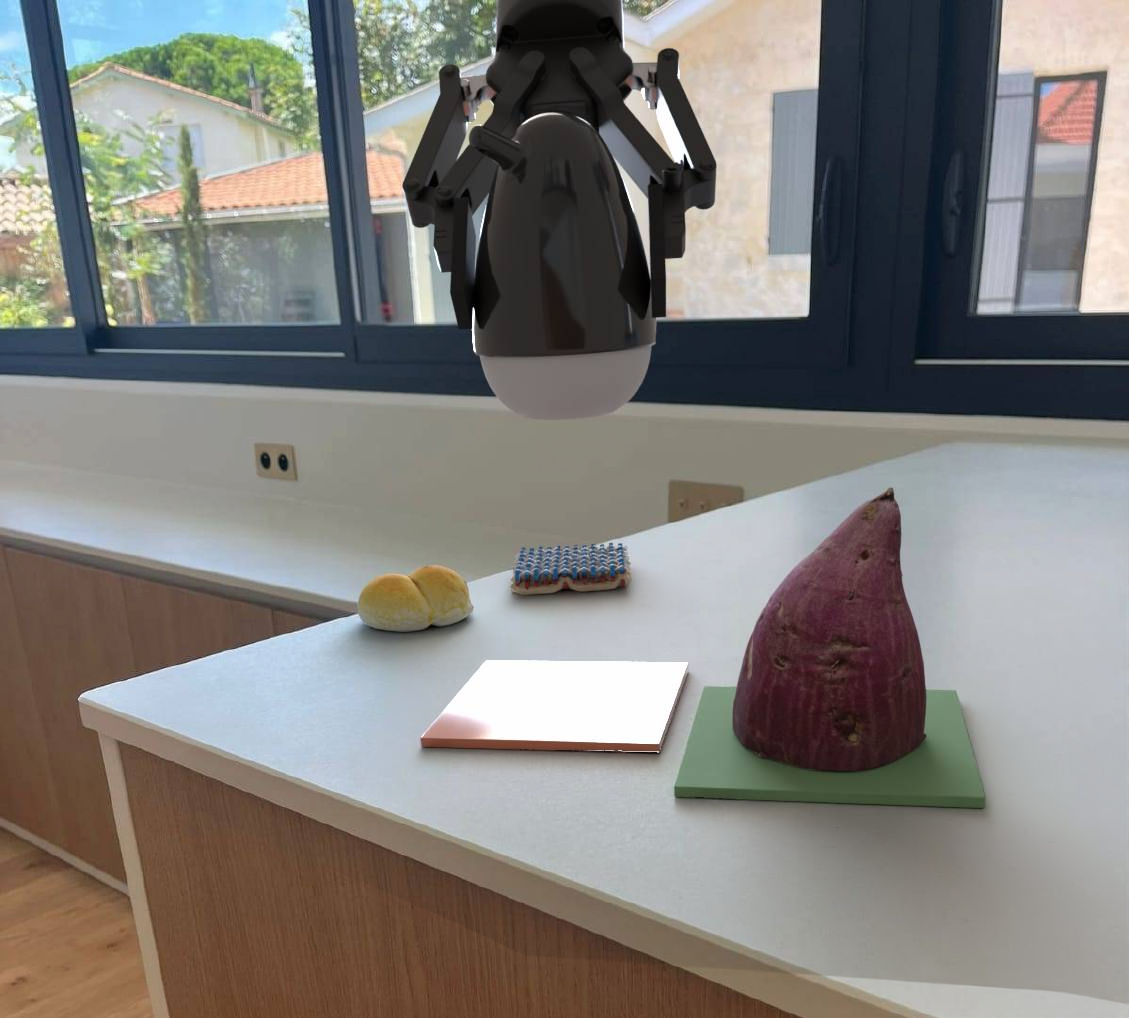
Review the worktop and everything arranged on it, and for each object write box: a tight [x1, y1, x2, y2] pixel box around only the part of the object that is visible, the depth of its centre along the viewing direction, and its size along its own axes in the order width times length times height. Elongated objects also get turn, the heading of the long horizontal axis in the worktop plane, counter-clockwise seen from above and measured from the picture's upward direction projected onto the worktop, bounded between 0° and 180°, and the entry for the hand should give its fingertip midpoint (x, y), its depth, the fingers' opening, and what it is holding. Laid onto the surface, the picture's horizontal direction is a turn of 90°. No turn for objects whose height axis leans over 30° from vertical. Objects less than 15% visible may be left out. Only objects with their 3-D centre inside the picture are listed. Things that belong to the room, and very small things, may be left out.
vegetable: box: [732, 487, 927, 772], centre depth 61 cm, size 10×10×15 cm
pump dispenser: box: [468, 110, 658, 421], centre depth 62 cm, size 10×10×15 cm
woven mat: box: [508, 542, 633, 596], centre depth 100 cm, size 10×11×2 cm
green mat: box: [673, 685, 986, 809], centre depth 64 cm, size 15×15×1 cm
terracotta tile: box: [419, 660, 690, 752], centre depth 71 cm, size 14×14×1 cm
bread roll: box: [356, 564, 475, 633], centre depth 91 cm, size 8×9×4 cm
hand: (559, 304), depth 60 cm, fingers closed on pump dispenser, 10 cm apart
